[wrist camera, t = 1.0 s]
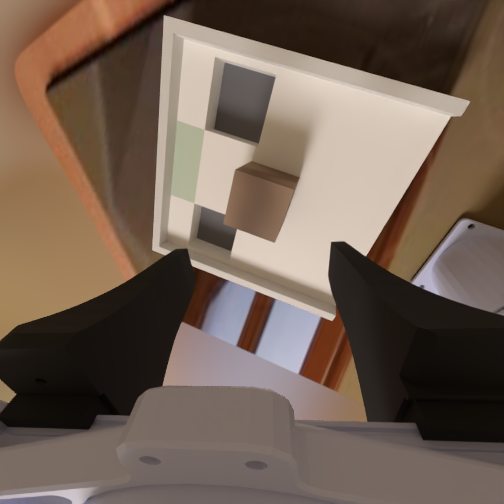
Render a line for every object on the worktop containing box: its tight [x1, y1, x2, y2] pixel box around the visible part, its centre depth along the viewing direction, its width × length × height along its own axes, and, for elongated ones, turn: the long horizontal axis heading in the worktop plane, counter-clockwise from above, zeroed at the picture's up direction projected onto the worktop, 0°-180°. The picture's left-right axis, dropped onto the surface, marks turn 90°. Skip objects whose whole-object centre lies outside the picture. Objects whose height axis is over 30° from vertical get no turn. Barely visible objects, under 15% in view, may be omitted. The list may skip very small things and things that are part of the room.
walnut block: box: [223, 161, 300, 243], centre depth 20 cm, size 4×4×4 cm
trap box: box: [152, 15, 470, 321], centre depth 23 cm, size 21×20×4 cm
